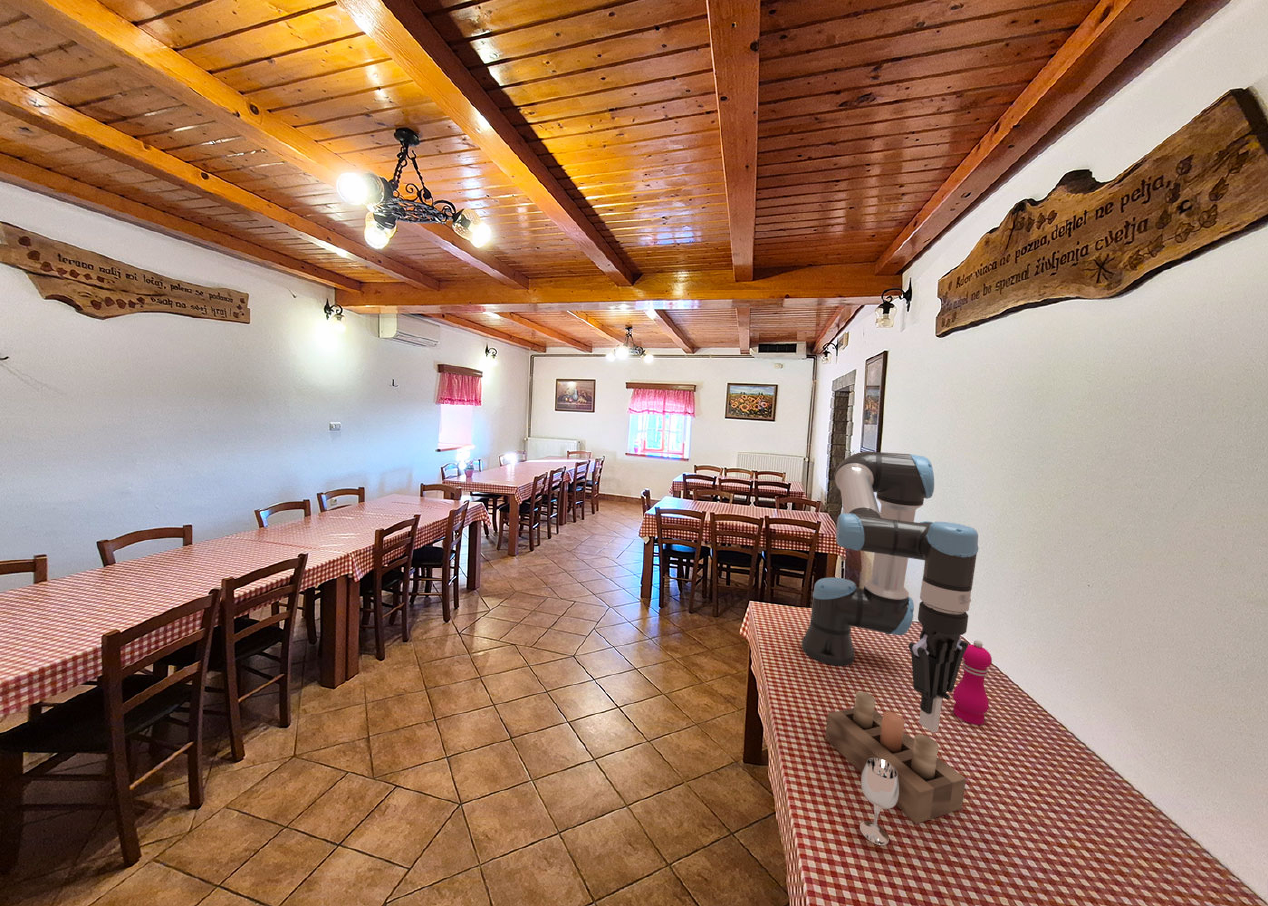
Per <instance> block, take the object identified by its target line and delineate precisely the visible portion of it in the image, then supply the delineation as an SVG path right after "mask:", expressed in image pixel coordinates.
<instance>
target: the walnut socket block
mask: <svg viewBox="0 0 1268 906" xmlns="http://www.w3.org/2000/svg"><path fill="white" fill-rule="evenodd" d="M853 715H854V707H853V708H848V709H841V710H838V711H833V712H828V713H827V716H826V728H825V737H824V739H825V740H826V741H827V742H828V743H829V744H830V745H831V746H832V747H833V748H834V749H835V750H837V751H838V752H839V753H840V754H841V755H842V756H843V757H844V758H845V759H846V760H847V761H848V762H849V763H850V764H852V765H853V766H854V767H855V769H857V770H858V771H859V772H860V773H861V774H862V772H863V769H864V766H865V764H866V762H867V760H868V759H869V758H879V759H882V760H884V761H886V762H888V763H890V764H891V765H892V766H893V767H894V768H895V769H896V771H897V773H898V779H899V799H898V801H897V804H896V805H895V806H896V807H897V808H898V809H899V810H900V811H901V812H902V813H904V815H906V816H907V817H908V818H909V819H910V820H911V821H912V822H913V823H915V825H917V824H920V823H923V822H926V821H930V820H933V819H935V818H937V817H938V818H939V817H941V816H944V815H947V814H950V813H953V812H957V811H959V810H962V809H963V805H964V804H963V802H964V797H965V796H964V795H965V789H966V781H967V778H966V777H965V776H963V775H961V773H959V772H958V771H956V769H954V768H952V767H951V766H950V765H948V764H947V763H945V762H944V761H943V760H942V759H941V758H939V757H938V756H937V761H936V769H935V776H934V778H933V779H925V778H922V777H920V776H919V775H917V774H916V773H915V772H913V770H912V769H911V762H912V754H913V746H914V737H911V736H910V735H908V734H907V733H906V732H905V731H903V738H902V746H901V751H900V752H892V751H889V750H887V749H886V748H884V747H883V746H882V745H881V744H880V736H881V728H882V720H883V714H881V713H879V712H878V711H876V710H875V709H874V715H873V724H872V728H870V729H865V728H862V727H859V726H858V725H856V724H855V723H854V721H853Z"/></svg>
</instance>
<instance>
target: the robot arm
mask: <svg viewBox="0 0 1268 906" xmlns="http://www.w3.org/2000/svg"><path fill="white" fill-rule="evenodd" d="M834 483H835V485H836V487H837V488H838V490H840V495H841V501H842V508H843V509H842V511H843V513H840V514H839V515H838V517H837V520H836V526H835V527H836V528H835V529H836V530H835V541H836V544H837V545H838V547H841V548H845V549H849V550H852V551H855V552H856V551H862V552H868V553H874V555H873V562H872V569H871V576H870V579H868V580H865V582H864V584H863V588H861V587H858V586H857V585H856V583H855V581H852V580H850V579H846V578H842V577H824V578H823V577H822V578H820V579H818V580H817V581H816V582H815V583H814V587H813V592H812V603H811V612H810V622H809V625H808V627H807V629H806V631H805V634H804V636H803V638H802V640H801V641H802V642H801V649H802V651H803V652H804V654H806V655H807V656H809V657H810V658H812V659H814V660H815V661H818V662H820V663H823V664H827V665H832V666H836V667H837V666H838V667H839V666H841V667H842V666H843V667H846V666H850V665H852V664H854V662H855V650H854V647H853V646H854V645H853V640H852V636H851V635H852V634H851V633H852V627H855V628H859V629H864V630H867V631H868V630H869V631H873V632H879V633H882V634H885V635H895V636H904V635H906V634H907V633H908V631H909V630H910V629H911V625H912V623H913V619H914V611H915V605H914V600H913V598H912V597H910V596H909V595H910V594H909V591H908V590H907V589H906V587H904V586H905V580H906V574H907V568H908V562H909V559H913V560H921V561H924V565H923V566H924V567H923V575H922V582H921V585H920V594H919V599H920V601H921V602H919V604H918V605H919V606H918V613H917V620H918V622H919V623H920V625H921V627H922V629H921V632H920V633H919V640H918V641H917V642H916V643H914V642H909V644H908V649H909V652H910V655H911V667H912V683H913V685H912V686H913V690H915V691H916V692H918V693H919V694H921V699H920V706H919V708H920V713H919V720H918V724H919V725H921V726H923V728H924V729H926V730H928V731H929V732H930V733H932V734H934V733H937V732H938V733H939V726H940V720H941V719H940V718H941V711H942V706H943V701H944V700H943V699H946V700H949V699H951V695H949V694H948V693H947V692H949V693H952V692H954V689H955V684H956V681H957V677H958V675H959V672H960V671H959V670H960V667H961V663H962V662H963V654H964V653H965V651H966V649H967V647H968V645H969V642H966V641H965V640H962V638H960V637H961V636H963V635H965V634H966V633H967V629H968V620H969V615H968V613H967V612H968V611H970V604H971V601H972V600H971V596H972V594H971V593H972V590H973V583H974V582H973V581H974V576H975V569H976V561H977V556H978V552H979V545H978V544H979V533H978V531H977V530H976V529H975V528H973V527H971V526H969V525H968V526H967V525H965V524H961V523H956V522H949V521H948V522H947V521H934V522H933V521H930V520H929V521H928V520H927V521H921V522H915V516H916V511H917V509H919V508H921V507H922V506H924V500H925V499H927V500H928V499H931V498H932V496H933V494H934V491H935V474H934V468H933V465H932V463H931V461H930V460H929V459H928V458H927V457H926V456H923V455H917V454H912V453H911V454H910V453H895V452H880V451H871V450H868V451H861V452H856V453H854V454H852V455H850V456H849V455H848V456H847V457H846V458H844V459H843V460H842V461H841V462H840V463H839V464H838V466H837V467H836V469H835V472H834ZM875 493H876V495H875ZM877 501H878V502H880V508H879V506H878V502H877Z"/></svg>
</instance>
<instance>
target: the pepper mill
mask: <svg viewBox="0 0 1268 906" xmlns="http://www.w3.org/2000/svg"><path fill="white" fill-rule="evenodd" d="M983 645H984V644H983V642H982V641H981V640H978V639H975V640H974V641H973V644H968V647H967V649H966V651H965V653H964V654H963V658H962V669H963V675H962V677H961V680H959V682H958V684H956V686H955V687H954V688H953V691H952V692H953V693H952V698H953V700H954V702H955V703H954V704H953V710H952V711H953V713H954V715H955V717H957V718H958V719H960V720H962V721H964V722H965V723H968V724H971V725H975V726H983V725H984V723H985V719H986V716H985V713H987V712H988V711H989V707H990V702H989V697H988V695H987V693H986V689H985V685H984V684H985V677H986V676H987V675H988V671H989V670H988V668H989V667H990V666H991V665H992V660H993V659H992V655H991V653H990V652H989V651H988V650H987V649H986V648H984V647H983Z"/></svg>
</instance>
